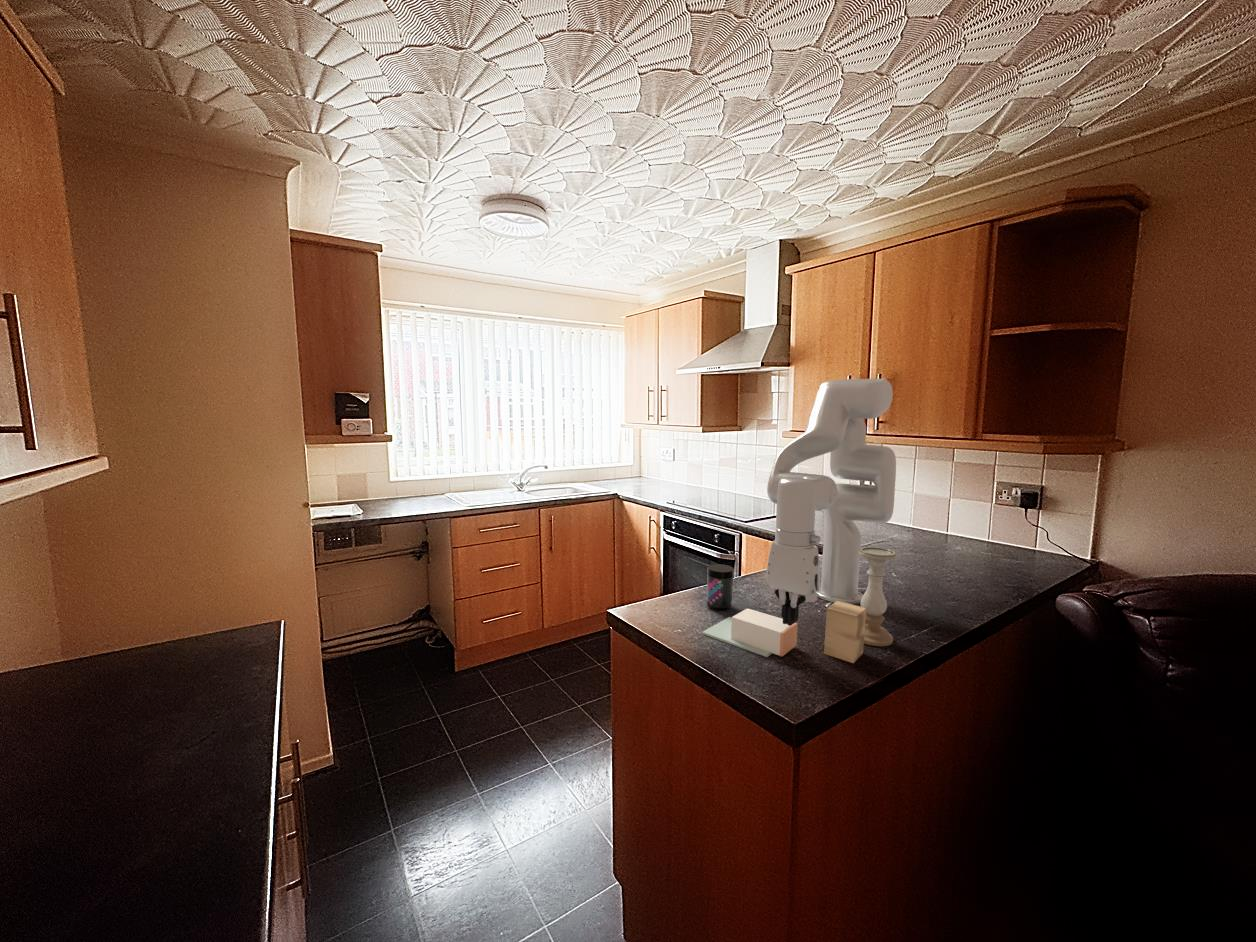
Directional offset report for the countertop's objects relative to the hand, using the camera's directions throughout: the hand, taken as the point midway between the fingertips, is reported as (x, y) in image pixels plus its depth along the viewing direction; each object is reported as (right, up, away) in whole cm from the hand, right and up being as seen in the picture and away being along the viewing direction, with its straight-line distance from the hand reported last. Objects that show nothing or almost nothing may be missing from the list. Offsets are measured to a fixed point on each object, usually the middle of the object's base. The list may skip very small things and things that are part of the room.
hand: (789, 622), depth 106 cm
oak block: (+12, -7, +1) cm, 14 cm away
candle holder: (+21, -6, +8) cm, 24 cm away
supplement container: (-10, -4, +26) cm, 28 cm away
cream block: (0, -4, 0) cm, 4 cm away
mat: (-7, -6, +8) cm, 12 cm away
